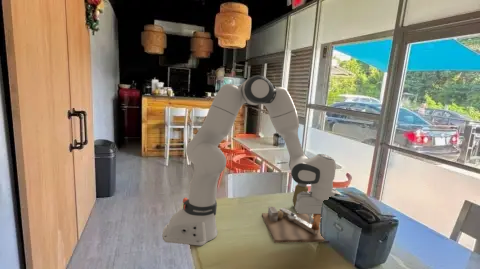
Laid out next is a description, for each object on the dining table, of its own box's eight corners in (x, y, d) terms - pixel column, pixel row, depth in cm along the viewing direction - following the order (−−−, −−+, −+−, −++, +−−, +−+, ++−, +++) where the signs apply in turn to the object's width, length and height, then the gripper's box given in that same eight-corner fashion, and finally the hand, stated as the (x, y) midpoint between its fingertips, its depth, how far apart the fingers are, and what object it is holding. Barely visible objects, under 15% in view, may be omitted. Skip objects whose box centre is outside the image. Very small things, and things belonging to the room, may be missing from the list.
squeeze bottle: (310, 209, 142) (314, 177, 138) (299, 212, 137) (303, 179, 134) (299, 203, 148) (302, 172, 145) (288, 205, 144) (292, 174, 140)
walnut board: (274, 242, 108) (275, 230, 107) (261, 215, 130) (262, 204, 129) (329, 241, 112) (331, 229, 111) (307, 215, 134) (309, 205, 133)
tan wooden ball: (276, 220, 124) (277, 213, 124) (274, 216, 128) (275, 209, 127) (283, 220, 125) (284, 213, 124) (281, 216, 128) (282, 209, 128)
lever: (314, 235, 113) (317, 216, 111) (278, 214, 129) (280, 197, 128) (320, 233, 115) (323, 213, 114) (284, 212, 132) (286, 195, 130)
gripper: (300, 194, 107) (296, 225, 110) (346, 195, 111) (341, 226, 113) (295, 188, 113) (291, 218, 116) (339, 190, 117) (334, 218, 119)
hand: (316, 222), depth 114 cm, fingers open, 3 cm apart
